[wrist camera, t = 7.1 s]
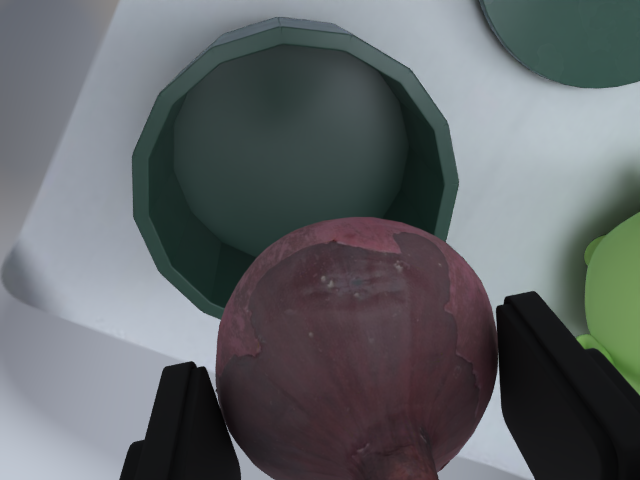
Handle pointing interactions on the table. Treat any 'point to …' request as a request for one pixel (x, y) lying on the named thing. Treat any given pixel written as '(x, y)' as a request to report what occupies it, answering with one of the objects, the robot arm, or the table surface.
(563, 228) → the table surface
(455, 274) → the vegetable
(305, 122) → the pot
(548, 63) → the pot lid
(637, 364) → the teapot
